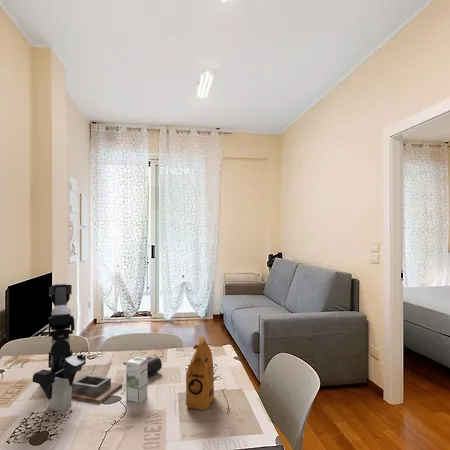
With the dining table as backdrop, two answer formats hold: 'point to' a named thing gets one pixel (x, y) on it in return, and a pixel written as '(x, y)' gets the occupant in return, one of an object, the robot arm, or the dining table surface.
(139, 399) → the syrup box
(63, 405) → the tea bag
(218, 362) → the dining table surface
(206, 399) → the coffee package
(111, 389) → the dock
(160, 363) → the end cap
